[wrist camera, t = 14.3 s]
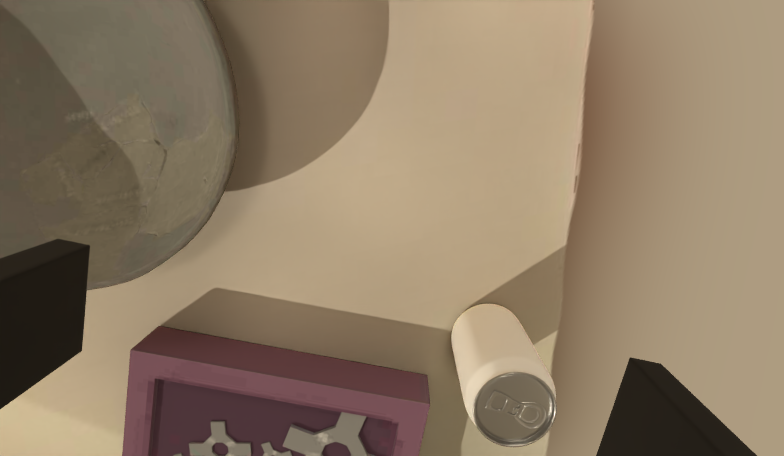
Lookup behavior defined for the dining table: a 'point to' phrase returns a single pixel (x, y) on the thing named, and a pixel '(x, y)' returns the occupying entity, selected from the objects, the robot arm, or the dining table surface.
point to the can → (502, 377)
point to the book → (265, 401)
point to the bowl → (113, 128)
